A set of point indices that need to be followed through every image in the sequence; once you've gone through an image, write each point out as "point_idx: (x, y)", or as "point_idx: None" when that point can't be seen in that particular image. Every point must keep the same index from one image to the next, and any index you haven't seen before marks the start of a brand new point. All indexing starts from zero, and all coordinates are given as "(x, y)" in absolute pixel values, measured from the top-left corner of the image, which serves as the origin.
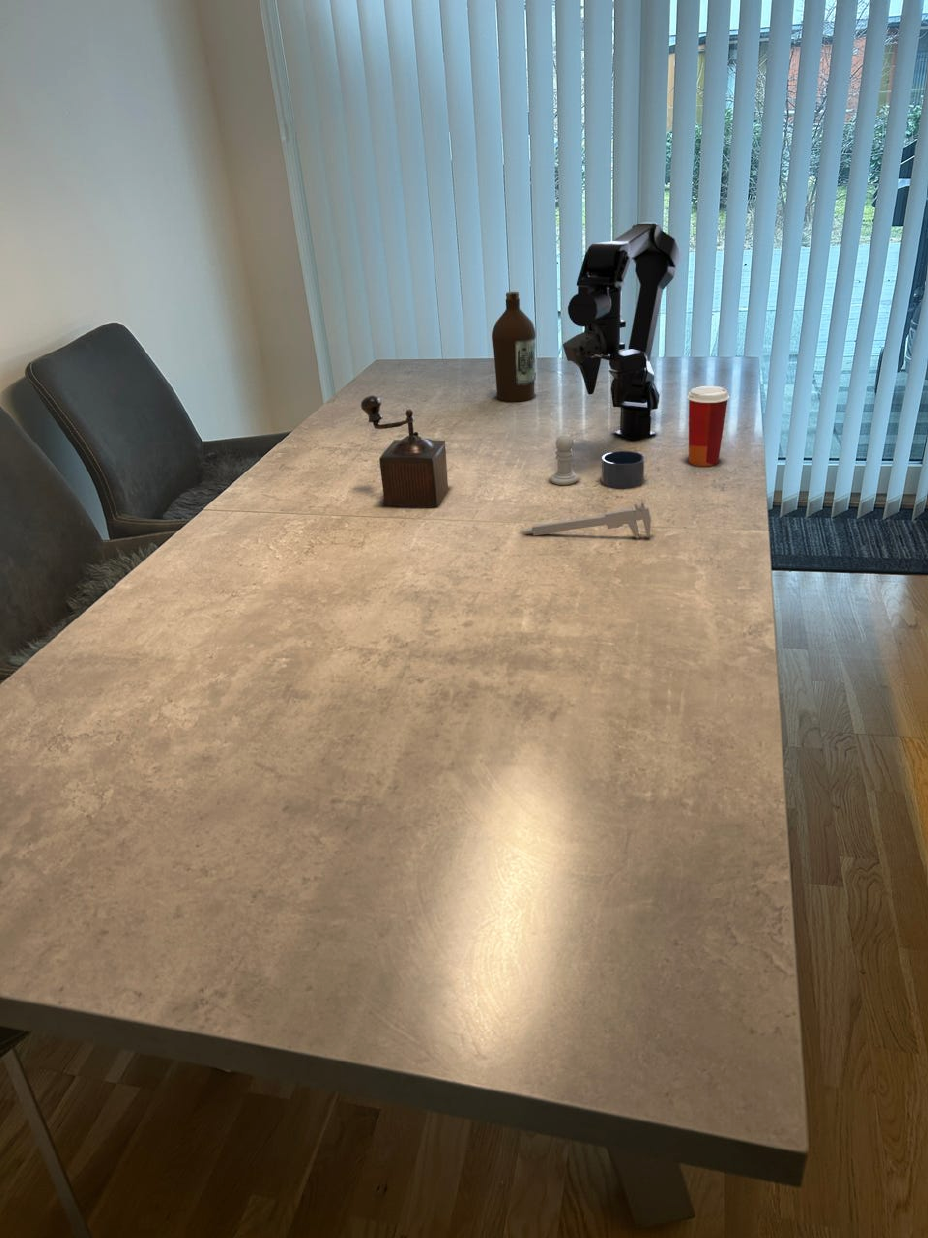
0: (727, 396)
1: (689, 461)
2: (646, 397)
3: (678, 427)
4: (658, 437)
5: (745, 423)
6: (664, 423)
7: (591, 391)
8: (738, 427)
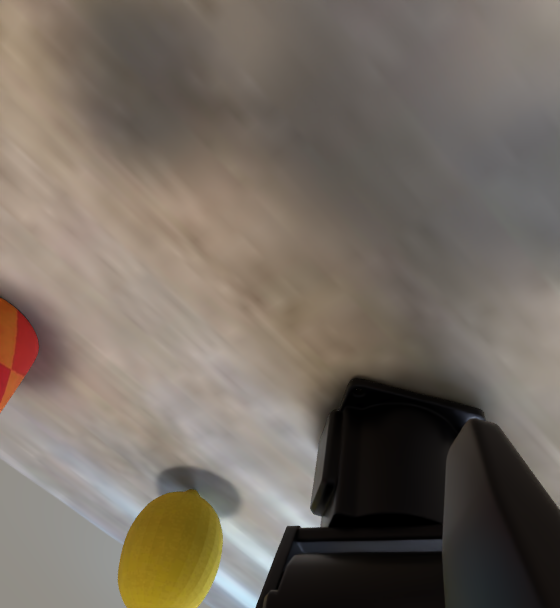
0: None
1: (1, 301)
2: (273, 587)
3: None
4: (302, 445)
5: None
6: None
7: (458, 463)
8: None
